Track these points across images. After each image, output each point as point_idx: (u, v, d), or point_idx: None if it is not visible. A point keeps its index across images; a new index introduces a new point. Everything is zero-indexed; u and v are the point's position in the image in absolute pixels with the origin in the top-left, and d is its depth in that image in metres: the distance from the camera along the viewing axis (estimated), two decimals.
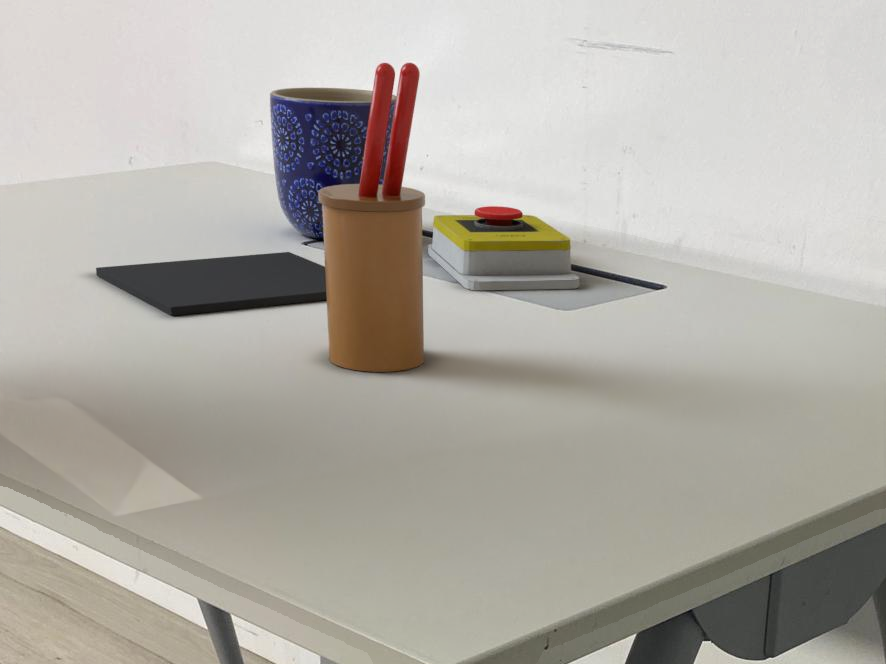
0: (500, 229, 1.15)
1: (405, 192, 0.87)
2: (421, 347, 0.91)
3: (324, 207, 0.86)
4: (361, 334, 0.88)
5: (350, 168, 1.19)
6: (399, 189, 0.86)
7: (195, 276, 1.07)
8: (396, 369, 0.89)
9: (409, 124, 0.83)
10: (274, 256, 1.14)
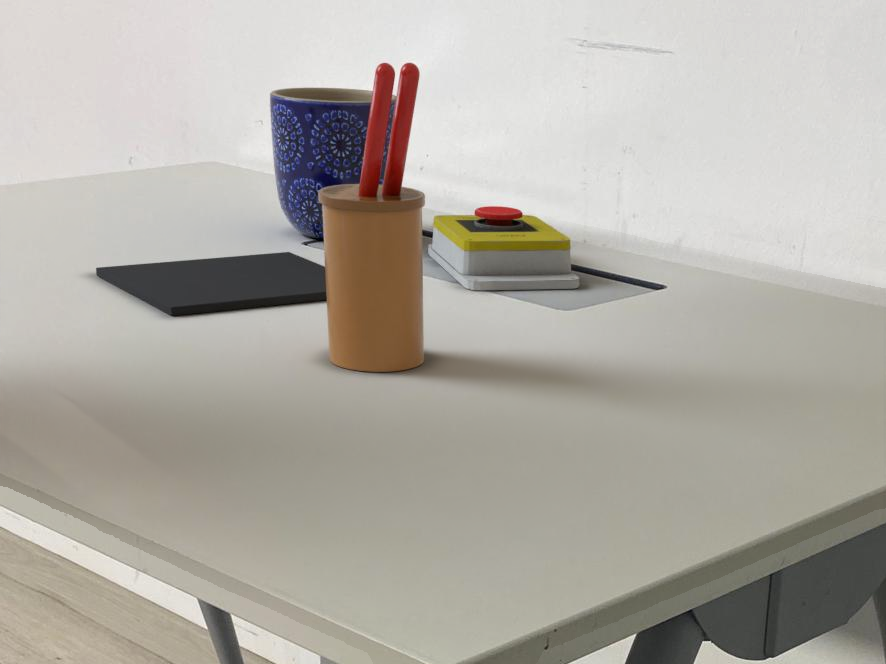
0: (500, 229, 1.15)
1: (405, 192, 0.87)
2: (421, 347, 0.91)
3: (324, 207, 0.86)
4: (361, 334, 0.88)
5: (350, 168, 1.19)
6: (399, 189, 0.86)
7: (195, 276, 1.07)
8: (396, 369, 0.89)
9: (409, 124, 0.83)
10: (274, 256, 1.14)
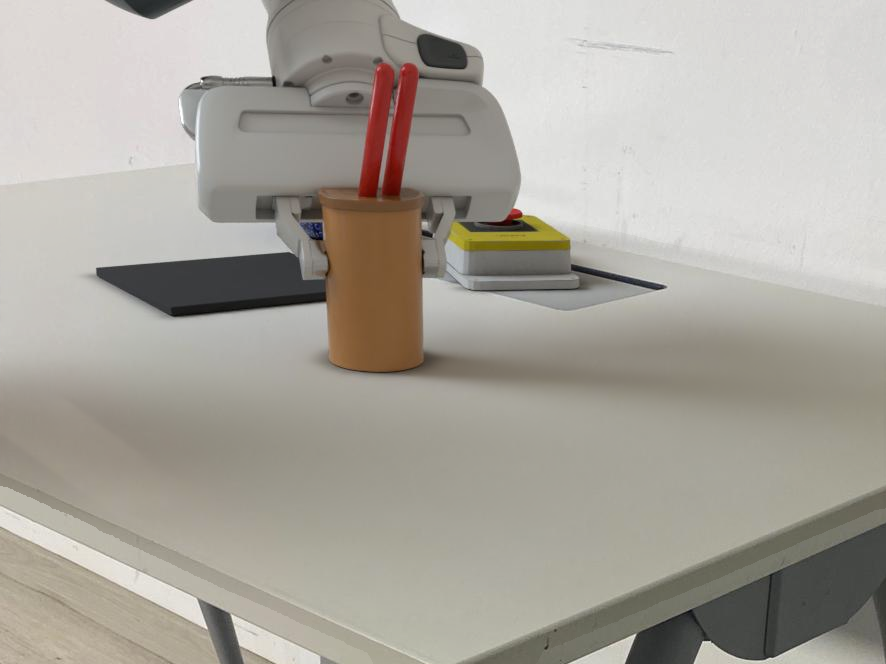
0: (500, 229, 1.15)
1: (405, 192, 0.87)
2: (421, 347, 0.91)
3: (324, 207, 0.86)
4: (361, 334, 0.88)
5: None
6: (399, 189, 0.86)
7: (195, 276, 1.07)
8: (396, 369, 0.89)
9: (409, 124, 0.83)
10: (274, 256, 1.14)
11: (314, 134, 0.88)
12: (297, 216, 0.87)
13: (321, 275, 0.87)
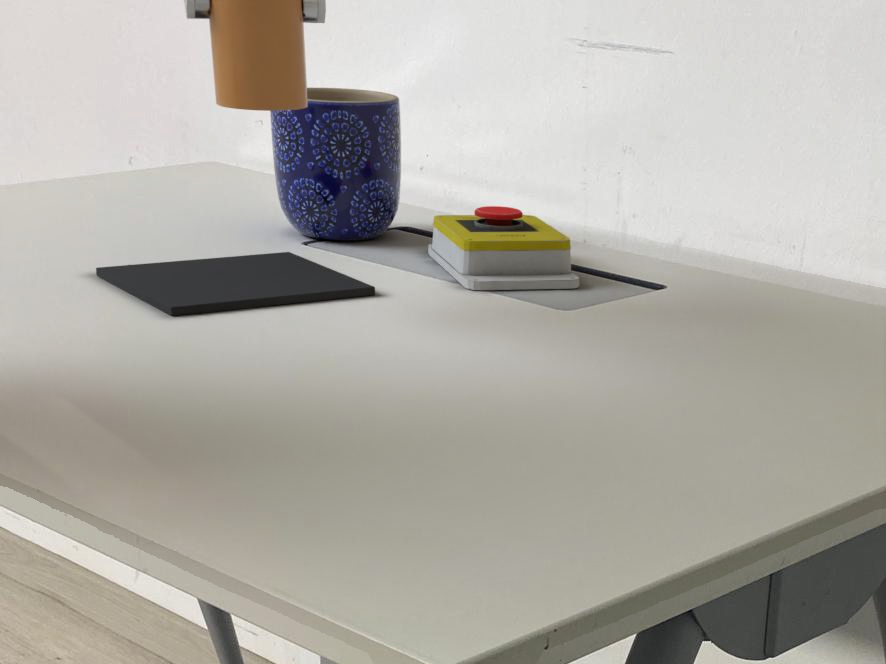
0: (500, 229, 1.15)
1: None
2: (303, 91, 0.95)
3: None
4: (242, 71, 0.92)
5: (350, 168, 1.19)
6: None
7: (195, 276, 1.07)
8: (278, 108, 0.93)
9: None
10: (274, 256, 1.14)
11: None
12: None
13: (203, 13, 0.92)
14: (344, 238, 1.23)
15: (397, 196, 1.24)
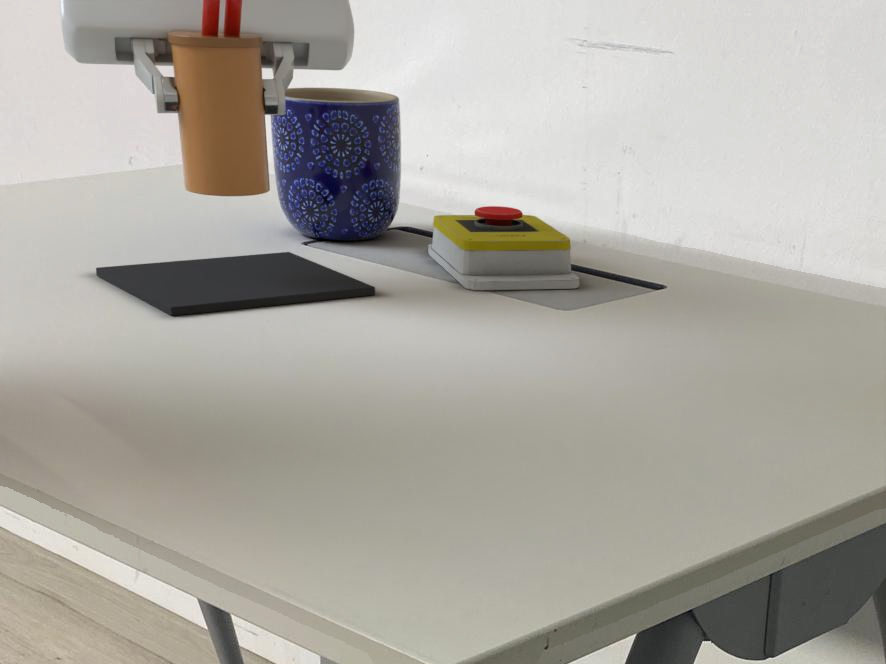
0: (500, 229, 1.15)
1: (245, 34, 0.99)
2: (265, 177, 1.03)
3: (172, 46, 0.98)
4: (208, 161, 1.00)
5: (350, 168, 1.19)
6: (238, 30, 0.98)
7: (195, 276, 1.07)
8: (241, 194, 1.02)
9: None
10: (274, 256, 1.14)
11: None
12: (151, 56, 0.99)
13: (172, 108, 1.00)
14: (344, 238, 1.23)
15: (397, 196, 1.24)
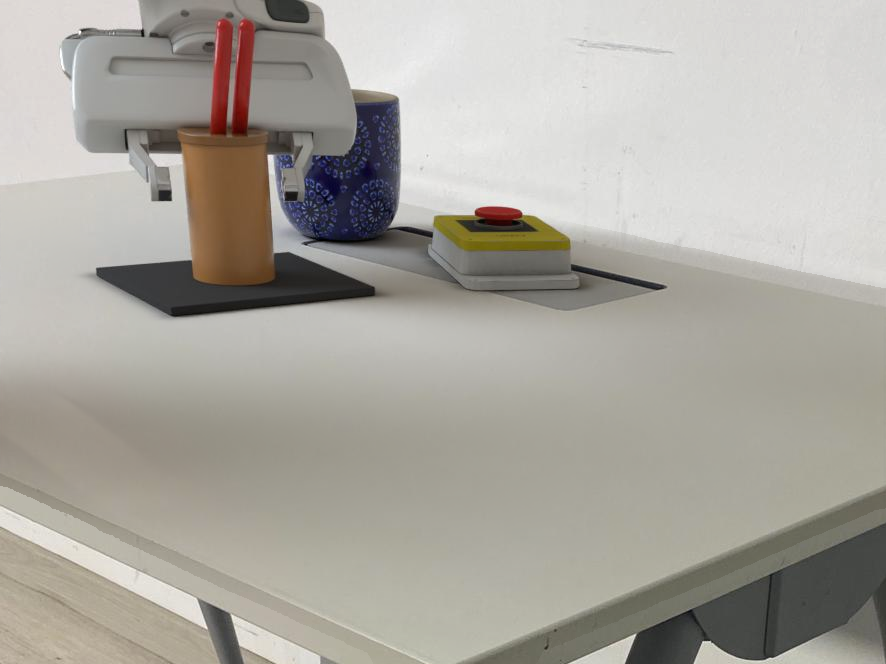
0: (500, 229, 1.15)
1: (252, 131, 1.02)
2: (271, 266, 1.06)
3: (181, 143, 1.01)
4: (216, 252, 1.03)
5: (350, 168, 1.19)
6: (245, 128, 1.01)
7: None
8: (248, 283, 1.05)
9: (249, 71, 0.98)
10: (274, 256, 1.14)
11: (175, 77, 1.03)
12: (145, 146, 1.02)
13: (166, 197, 1.02)
14: (344, 238, 1.23)
15: (397, 196, 1.24)
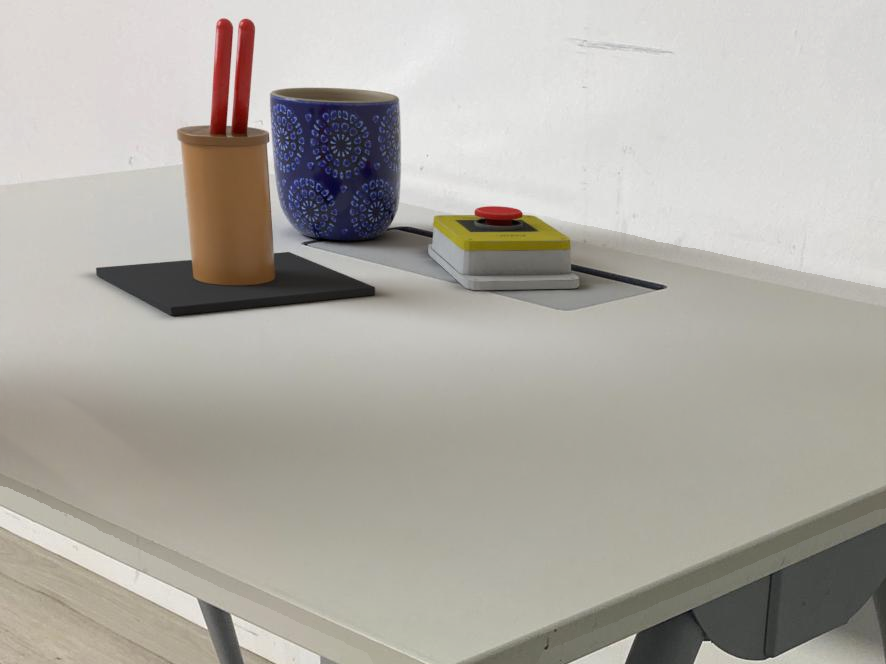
0: (500, 229, 1.15)
1: (252, 131, 1.02)
2: (271, 266, 1.06)
3: (181, 143, 1.01)
4: (216, 252, 1.03)
5: (350, 168, 1.19)
6: (245, 128, 1.01)
7: None
8: (248, 283, 1.05)
9: (249, 71, 0.98)
10: (274, 256, 1.14)
11: None
12: None
13: None
14: (344, 238, 1.23)
15: (397, 196, 1.24)
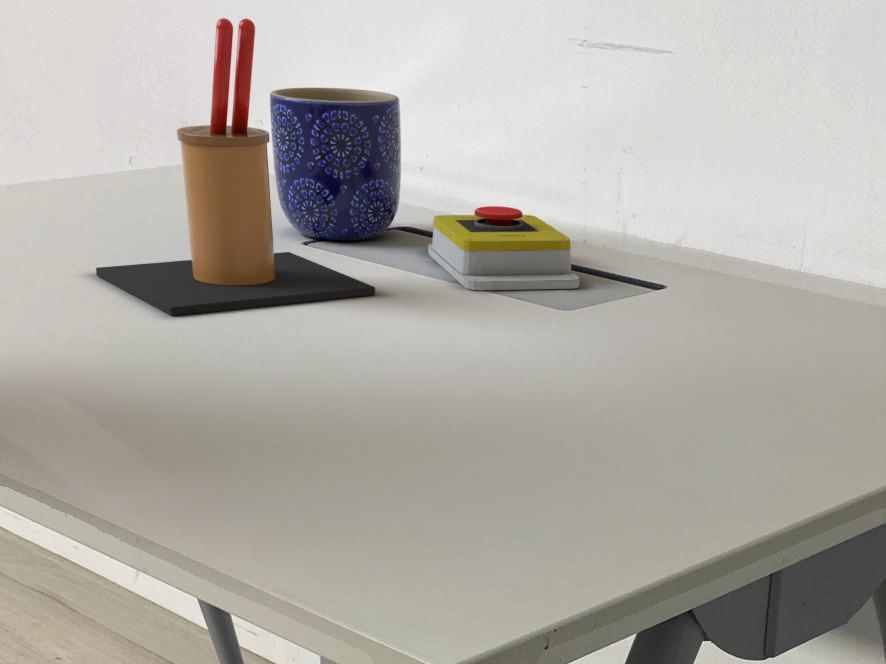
0: (500, 229, 1.15)
1: (252, 131, 1.02)
2: (271, 266, 1.06)
3: (181, 143, 1.01)
4: (216, 252, 1.03)
5: (350, 168, 1.19)
6: (245, 128, 1.01)
7: None
8: (248, 283, 1.05)
9: (249, 71, 0.98)
10: (274, 256, 1.14)
11: None
12: None
13: None
14: (344, 238, 1.23)
15: (397, 196, 1.24)
